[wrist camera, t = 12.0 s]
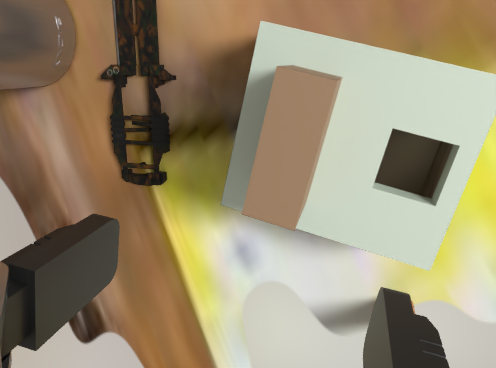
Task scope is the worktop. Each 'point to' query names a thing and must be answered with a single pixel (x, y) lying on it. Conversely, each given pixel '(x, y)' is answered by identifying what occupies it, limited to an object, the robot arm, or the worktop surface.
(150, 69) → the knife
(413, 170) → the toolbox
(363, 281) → the worktop surface
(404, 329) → the robot arm
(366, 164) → the lid
